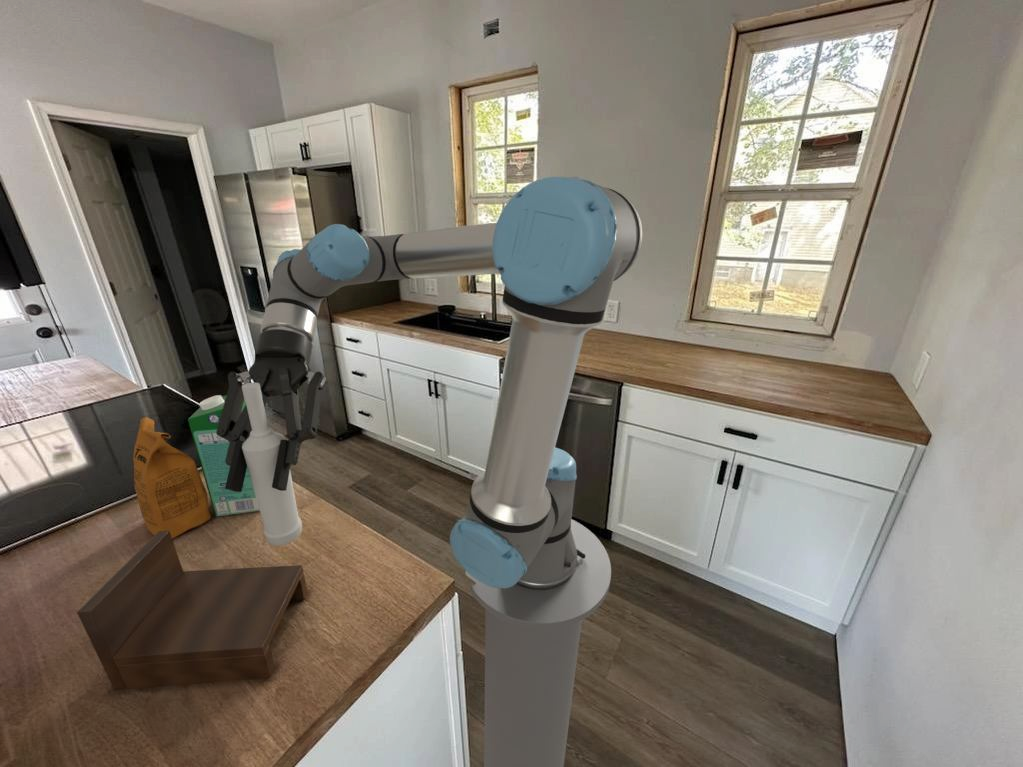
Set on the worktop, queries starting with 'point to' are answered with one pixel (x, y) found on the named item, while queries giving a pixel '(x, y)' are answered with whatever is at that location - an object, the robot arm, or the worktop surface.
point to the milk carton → (218, 460)
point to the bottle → (268, 474)
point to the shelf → (187, 619)
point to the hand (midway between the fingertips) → (256, 489)
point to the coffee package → (167, 484)
